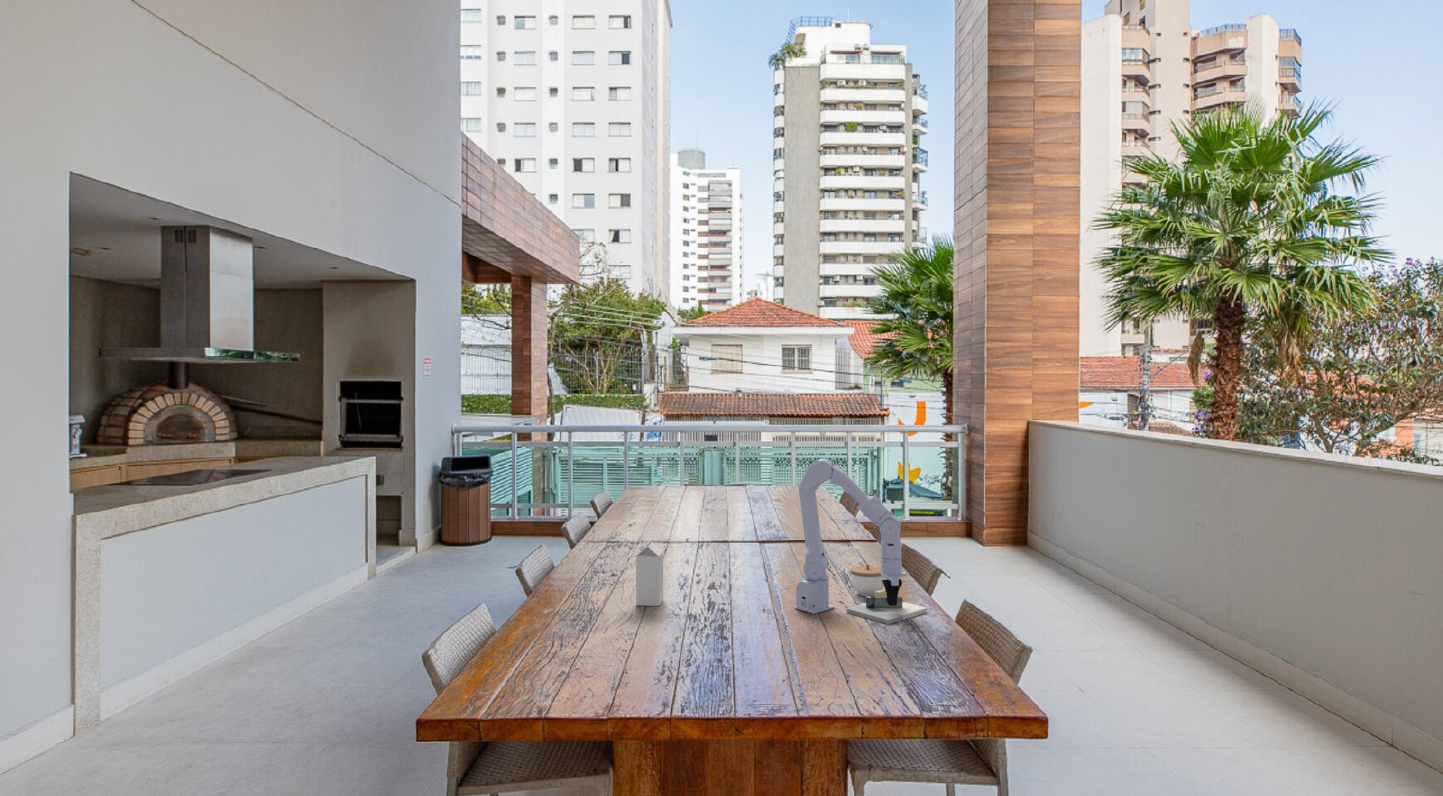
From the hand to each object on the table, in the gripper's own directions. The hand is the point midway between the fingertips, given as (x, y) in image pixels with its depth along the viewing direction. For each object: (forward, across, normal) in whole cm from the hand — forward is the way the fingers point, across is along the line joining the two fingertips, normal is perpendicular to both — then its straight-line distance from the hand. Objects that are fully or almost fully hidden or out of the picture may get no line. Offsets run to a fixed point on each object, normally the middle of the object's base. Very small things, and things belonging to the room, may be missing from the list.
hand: (892, 604), depth 220 cm
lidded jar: (+2, +21, +5) cm, 22 cm away
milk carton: (+1, +6, +72) cm, 72 cm away
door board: (+2, +1, +2) cm, 3 cm away
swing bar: (+1, +1, +2) cm, 3 cm away
